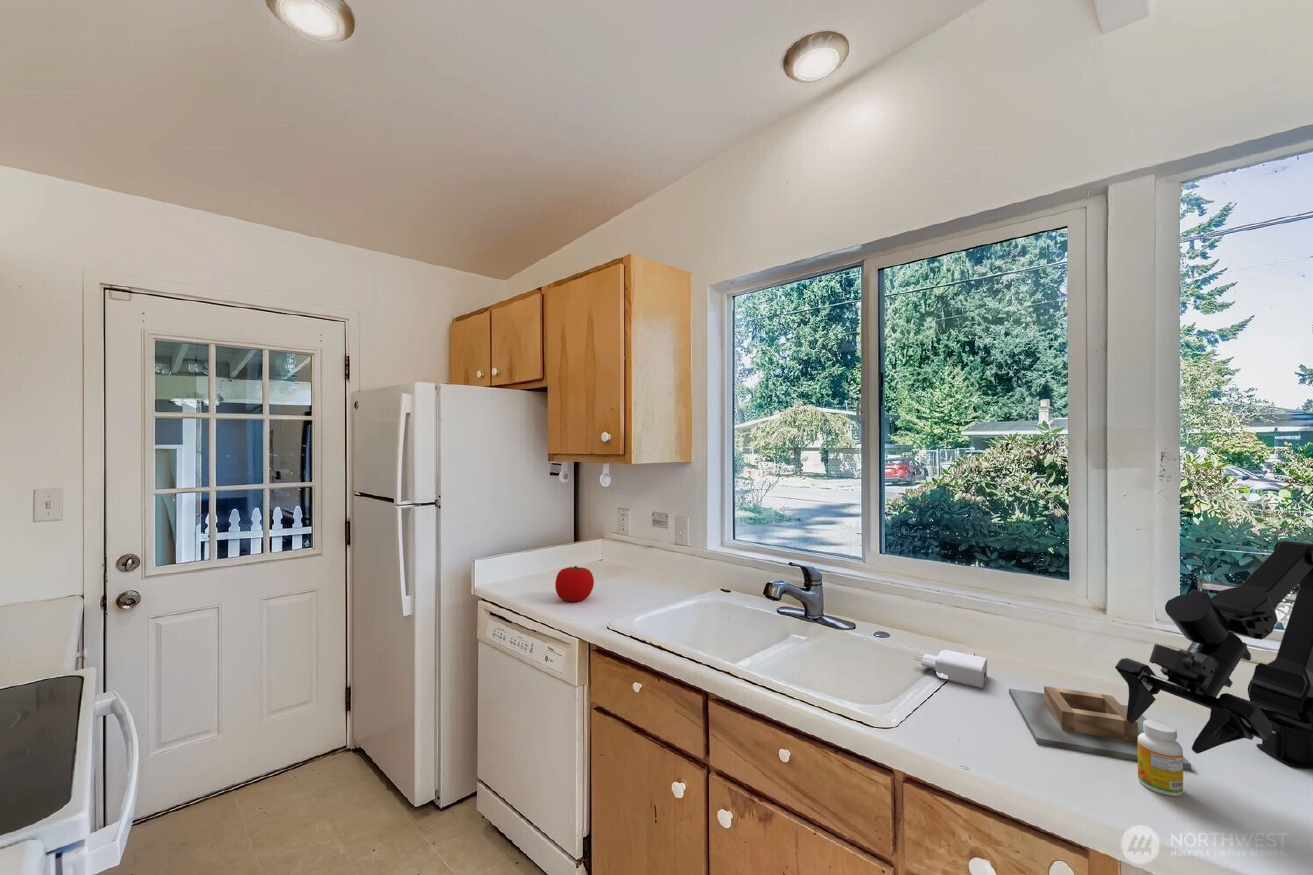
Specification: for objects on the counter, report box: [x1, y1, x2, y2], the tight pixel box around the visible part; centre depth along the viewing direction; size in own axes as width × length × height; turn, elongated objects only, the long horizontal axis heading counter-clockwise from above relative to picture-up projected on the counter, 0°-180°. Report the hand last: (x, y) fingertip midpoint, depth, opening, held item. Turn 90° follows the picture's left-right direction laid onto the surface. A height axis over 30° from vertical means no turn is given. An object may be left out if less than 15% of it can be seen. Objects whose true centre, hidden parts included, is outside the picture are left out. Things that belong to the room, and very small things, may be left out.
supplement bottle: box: [1137, 719, 1184, 797], centre depth 88 cm, size 5×5×10 cm
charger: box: [913, 649, 988, 689], centre depth 131 cm, size 5×9×15 cm
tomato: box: [554, 565, 595, 603], centre depth 192 cm, size 13×14×12 cm
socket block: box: [1008, 685, 1192, 771], centre depth 107 cm, size 22×22×4 cm
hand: (1159, 735), depth 88 cm, fingers open, 9 cm apart
